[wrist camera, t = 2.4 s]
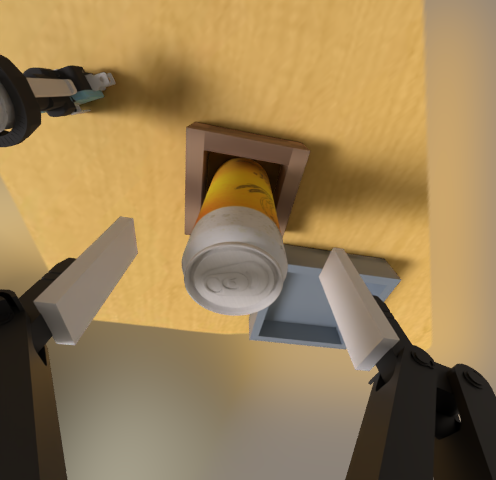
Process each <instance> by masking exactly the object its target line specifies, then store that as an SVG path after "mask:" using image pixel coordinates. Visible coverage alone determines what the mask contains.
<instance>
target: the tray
mask: <svg viewBox="0 0 496 480" xmlns="http://www.w3.org/2000/svg"><path fill="white" fill-rule="evenodd" d="M284 248H285V253H286V257H287V262H288V270H287V275H286V278H285V280H284V282H283V288H282V291H281V293H280V295H279V296H278V298H277V299H276V300H275V301H274V302H273V303H272V304H271V305H269V306H268V307H266V308H265V309H263V310H261V311H258V312H255V313H252V314H250V316H249V339H250V340H258V341H268V342H278V343H287V344H297V345H307V346H317V347H327V348H338V349H347V348H346V345H345V342H344V340H343V337H342V335H341V332H340V330H339V327H338V325H337V322H336V319H335V317H334V314H333V312H332V309H331V307H330V304H329V302H328V299H327V297H326V294H325V291H324V289H323V286H322V284H321V281H320V279H319V275H320V273H321V271H322V269H323V267H324V265H325V263H326V261H327V259H328V257H329V255H330V253H331V251H327V250H320V249H314V248H307V247H300V246H293V245H286V244H284ZM346 254H347V255H348V257H349V259H350V260H351V262H352V263H353V265H354V267H355V268H356V270H357V272H358V273H359V275H360V276H361V278H362V280H363V281H364V283H365V284H366V286H367V288H368V289H369V291H370V292H371V294H372V295H375V296H378V297H379V298H380V299H381V300H382V301H383V302H384V301H385V300H386V298H387V297H388V296H389V295H390V293H391V292H392V291H393V290H394V288H395V287H396V286H397V285H398V283H399V282H400V281H401V279H400V278H399V276H398V275H397V274H396V273H395V271H394V270H393V269H392V268H391V266H390V265H389V264H388V263H387V261H386V260H385V259H382V258H375V257H368V256H361V255H355V254H348V253H346Z"/></svg>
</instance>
